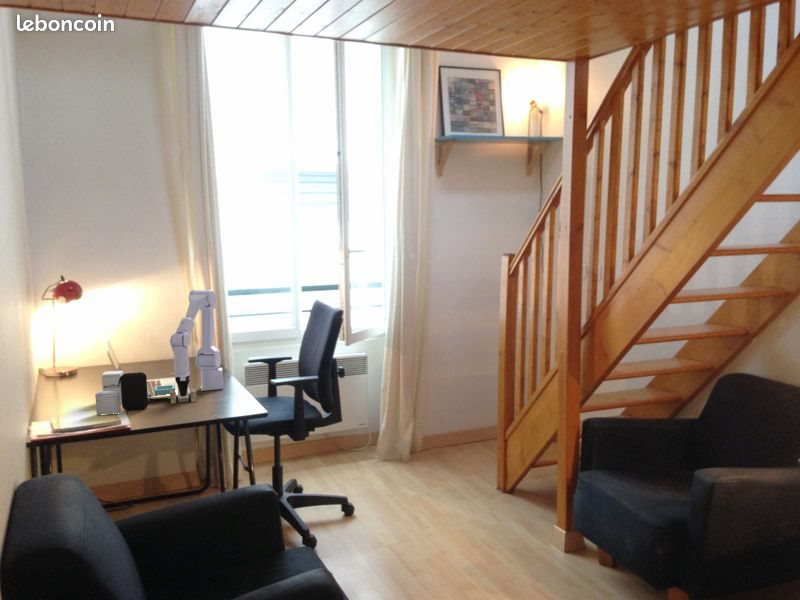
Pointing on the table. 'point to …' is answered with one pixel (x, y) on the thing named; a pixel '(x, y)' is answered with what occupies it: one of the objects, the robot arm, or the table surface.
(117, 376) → the supplement box
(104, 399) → the medicine box
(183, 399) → the plug
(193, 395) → the wooden pieces
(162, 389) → the port
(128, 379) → the black rounded piece
